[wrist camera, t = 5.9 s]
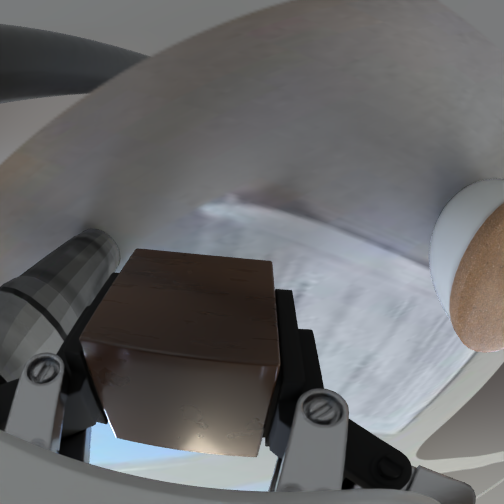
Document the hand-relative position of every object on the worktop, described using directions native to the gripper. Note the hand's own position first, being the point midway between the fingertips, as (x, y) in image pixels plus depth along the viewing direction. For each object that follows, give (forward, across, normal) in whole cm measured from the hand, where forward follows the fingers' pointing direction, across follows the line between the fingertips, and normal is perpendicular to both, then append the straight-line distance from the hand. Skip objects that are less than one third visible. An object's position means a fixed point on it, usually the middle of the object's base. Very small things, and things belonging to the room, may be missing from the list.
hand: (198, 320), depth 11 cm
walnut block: (+1, 0, 0) cm, 1 cm away
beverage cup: (+15, +11, +6) cm, 20 cm away
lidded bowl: (+14, -21, 0) cm, 25 cm away
